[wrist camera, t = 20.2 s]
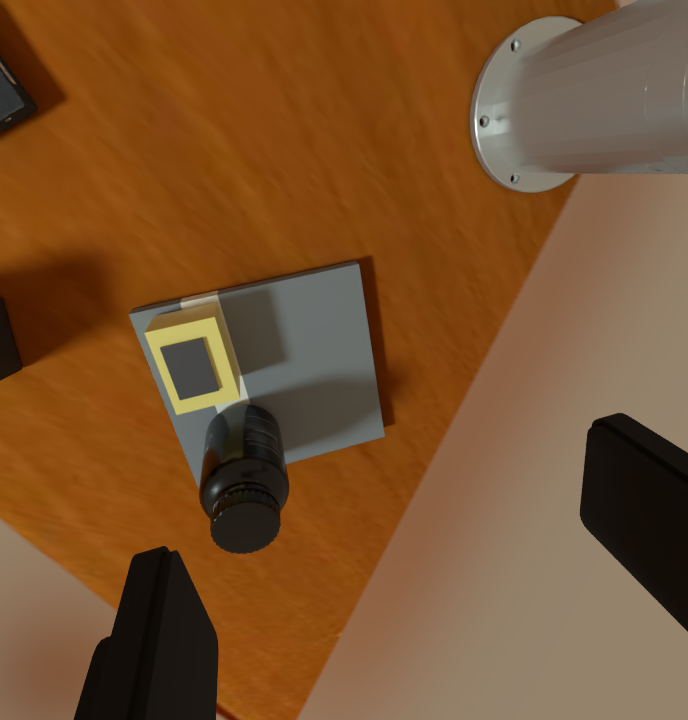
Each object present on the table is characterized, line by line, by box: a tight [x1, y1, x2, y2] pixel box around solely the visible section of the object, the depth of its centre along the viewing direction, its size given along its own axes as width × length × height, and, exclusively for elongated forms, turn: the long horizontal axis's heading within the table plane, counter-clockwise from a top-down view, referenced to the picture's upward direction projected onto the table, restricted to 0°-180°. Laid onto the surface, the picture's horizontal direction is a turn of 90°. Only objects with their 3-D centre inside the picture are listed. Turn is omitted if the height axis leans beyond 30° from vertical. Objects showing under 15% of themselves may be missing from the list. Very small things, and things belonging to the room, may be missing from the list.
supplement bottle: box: [199, 404, 289, 554], centre depth 35 cm, size 7×7×12 cm
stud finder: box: [144, 302, 240, 415], centre depth 34 cm, size 5×7×4 cm
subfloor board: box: [129, 261, 385, 488], centre depth 40 cm, size 19×18×2 cm
